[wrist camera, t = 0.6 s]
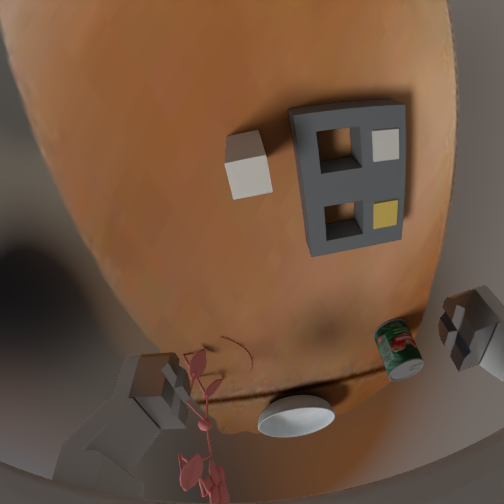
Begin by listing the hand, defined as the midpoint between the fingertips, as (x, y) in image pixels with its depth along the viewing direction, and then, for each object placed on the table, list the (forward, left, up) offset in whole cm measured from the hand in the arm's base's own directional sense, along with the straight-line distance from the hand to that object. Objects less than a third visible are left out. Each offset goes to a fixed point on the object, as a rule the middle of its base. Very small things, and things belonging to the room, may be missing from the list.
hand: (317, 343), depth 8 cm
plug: (+5, -2, -33) cm, 34 cm away
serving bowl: (+75, -3, -34) cm, 82 cm away
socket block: (+11, +11, -33) cm, 37 cm away
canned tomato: (+49, +21, -33) cm, 63 cm away
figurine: (+49, -17, -33) cm, 61 cm away
